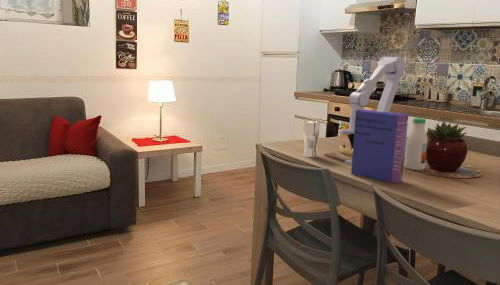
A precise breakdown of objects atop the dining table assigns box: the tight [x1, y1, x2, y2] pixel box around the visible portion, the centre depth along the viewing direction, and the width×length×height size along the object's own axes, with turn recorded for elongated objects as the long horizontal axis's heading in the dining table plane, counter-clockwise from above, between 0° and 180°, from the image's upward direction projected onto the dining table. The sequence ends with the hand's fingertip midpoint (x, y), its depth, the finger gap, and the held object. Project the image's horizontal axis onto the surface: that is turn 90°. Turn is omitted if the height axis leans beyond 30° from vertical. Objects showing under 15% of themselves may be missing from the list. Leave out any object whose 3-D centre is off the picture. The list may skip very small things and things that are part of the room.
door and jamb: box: [323, 151, 352, 166], centre depth 187 cm, size 18×26×4 cm
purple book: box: [350, 109, 410, 185], centre depth 159 cm, size 17×5×24 cm, turn 50°
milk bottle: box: [403, 117, 428, 171], centre depth 176 cm, size 8×8×20 cm
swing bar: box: [338, 144, 353, 156], centre depth 192 cm, size 12×4×3 cm, turn 28°
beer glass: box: [303, 120, 321, 158], centre depth 192 cm, size 7×7×15 cm
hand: (354, 150), depth 194 cm, fingers closed
